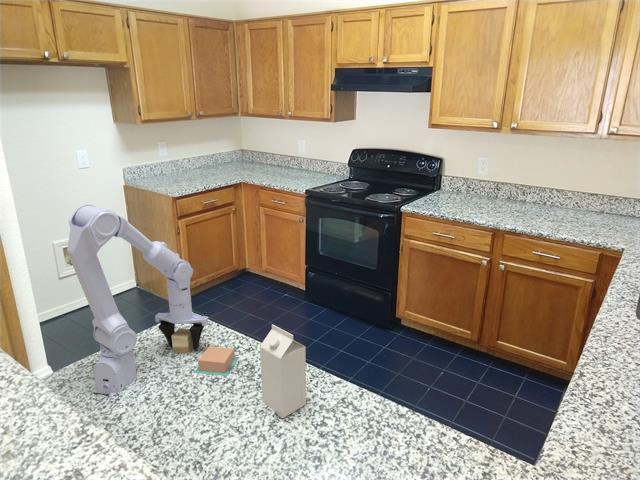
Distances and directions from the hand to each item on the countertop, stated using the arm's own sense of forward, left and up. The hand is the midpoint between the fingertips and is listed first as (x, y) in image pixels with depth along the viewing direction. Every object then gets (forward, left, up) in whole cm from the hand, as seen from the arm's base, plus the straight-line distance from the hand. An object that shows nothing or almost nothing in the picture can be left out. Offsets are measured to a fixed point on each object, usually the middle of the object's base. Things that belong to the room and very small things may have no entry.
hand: (184, 346), depth 125 cm
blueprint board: (-6, -12, -2) cm, 14 cm away
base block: (-6, -12, -1) cm, 13 cm away
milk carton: (-18, -33, -2) cm, 38 cm away
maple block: (0, 0, -2) cm, 2 cm away
